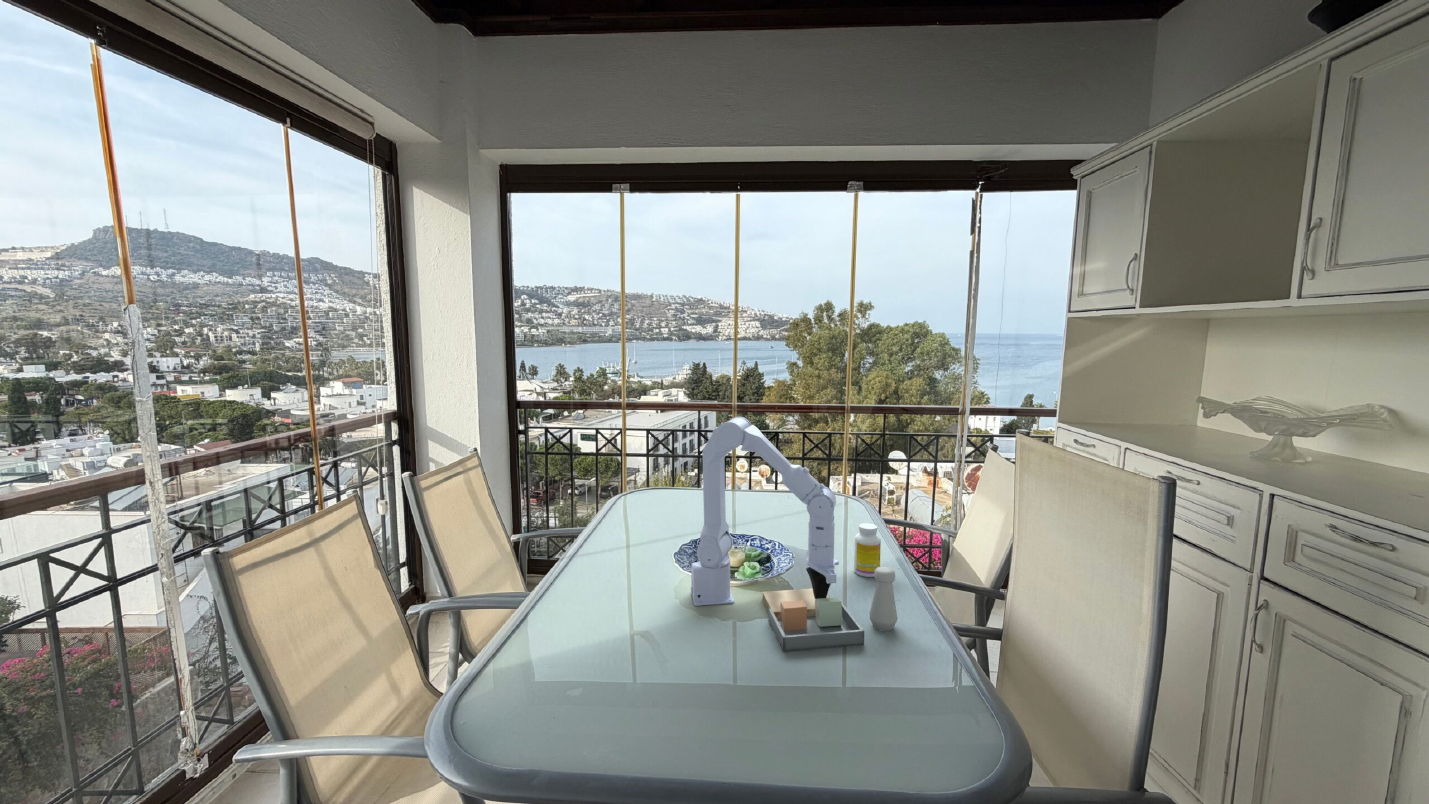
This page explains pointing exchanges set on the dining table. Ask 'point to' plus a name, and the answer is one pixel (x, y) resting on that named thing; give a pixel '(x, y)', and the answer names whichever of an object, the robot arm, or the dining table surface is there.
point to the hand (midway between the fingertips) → (820, 600)
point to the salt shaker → (883, 600)
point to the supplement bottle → (867, 550)
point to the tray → (819, 634)
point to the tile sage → (828, 612)
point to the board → (789, 599)
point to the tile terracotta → (793, 615)
